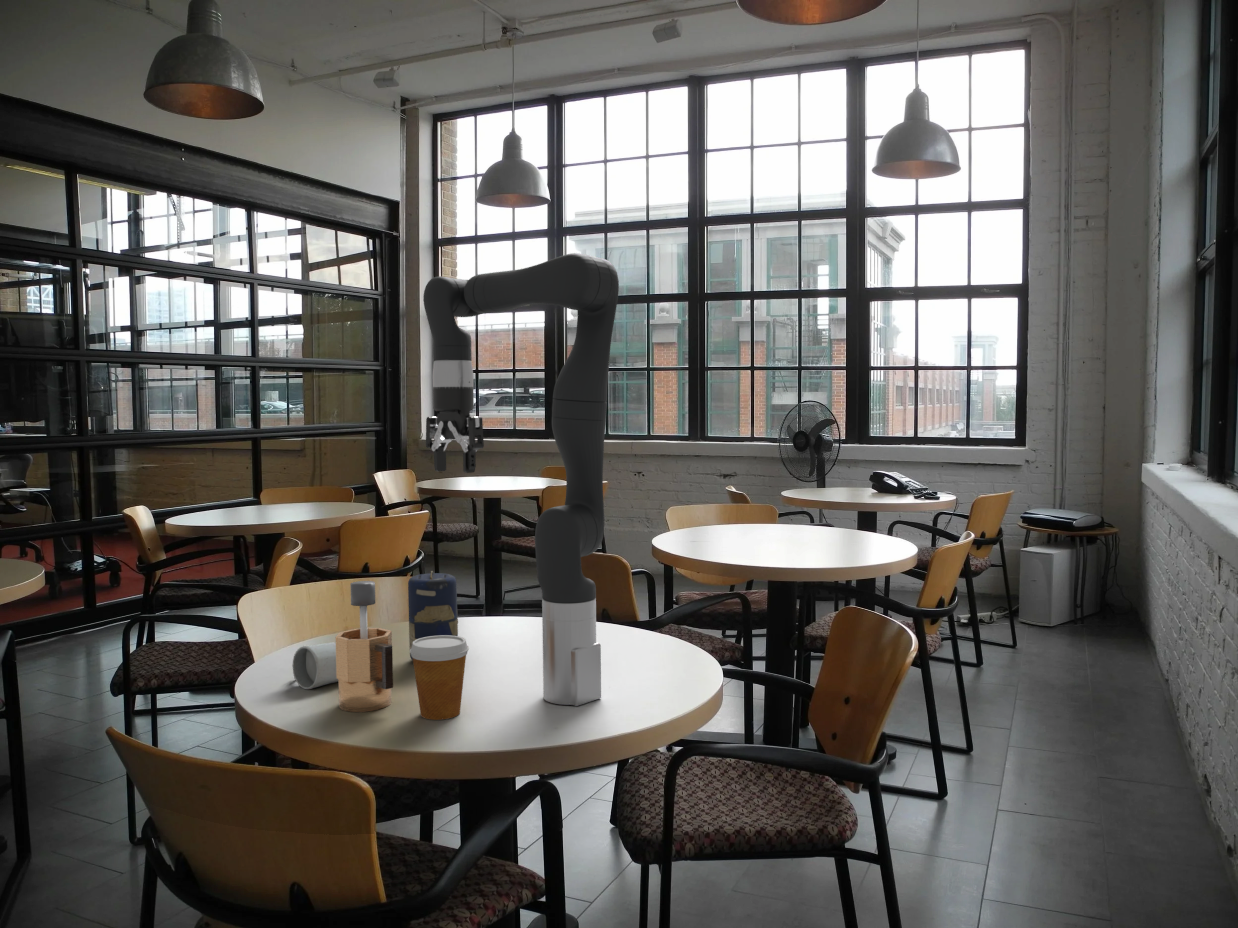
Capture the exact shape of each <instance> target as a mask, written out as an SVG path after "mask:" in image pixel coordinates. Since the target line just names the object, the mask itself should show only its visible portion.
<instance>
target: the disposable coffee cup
mask: <svg viewBox="0 0 1238 928" xmlns="http://www.w3.org/2000/svg"><path fill="white" fill-rule="evenodd" d="M467 644H468V643H467V639H466V638H465V637H462V636H459V635H458V636H451V635H440V636H429V637H423V638H419V639H417V640H415V641H413V644H412V648H411V649H410V648H409V655H410V654H411V656H412V658H413V660H412V663H413V664H412V665H413V669H414V677H415V678H414V679H415V683H416V685H415V686H416V690H417V691H416V692H417V697H418V705H419V712H420V716H421V717H422V718H423V719H426V720H433V721H437V720H438V721H440V720H443V721H444V720H449V719H452V718H455V717H457V716H459V715H460V713H461V708H462V707H461V705H462V695H463V688H464V679H465V668H466V660H467V655H468V652H469V649H470V647H469V645H467Z"/></svg>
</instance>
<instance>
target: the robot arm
mask: <svg viewBox="0 0 1238 928" xmlns="http://www.w3.org/2000/svg"><path fill="white" fill-rule="evenodd" d="M619 281H620V280H619V275H618V272H617V269H616V268H615V266H614V265H613V264H612V262H611V261H609V260H608V259H605V258H602V257H598V256H594V255H590V254H589V255H588V254H584V253H580V252H579V253H577V252H572V253H571V252H570V253H568V254H564V255H563V254H562V255H561V256H557V257H555V258H552V259H549V260H547V261H544V262H542V263H538V264H535V265H531V266H528V267H524V268H520V269H513V270H511V269H510V270H502V271H496V272H495V271H494V272H487V273H480V274H476V275H474V276H472V277H470V278H469V279H461V278H453V277H448V276H440V275H439V276H435V277H432V278H430V280H429V281H428V282H427V283H426V285H425V288H424V291H423V297H422V298H423V307H424V311H425V314H426V319H427V323H428V325H429V330H430V332H431V337H432V340H433V345H432V346H433V366H432V409H433V411H435V412H437V416H427V417H426V418H425V419H426V420H425V422H426V424H425V447H426V449H431V451H432V452H433V466H434V471H435V472H445V471H446V470H447V451H446V449H447V447H448V445H449V443H451V442H452V441H454V440H455V441H456V442H457V443H458V444H459V445H460V446H461V449H462V450H463V453H462V468H463V469H462V471H463V473H466V474H471V473H474V472H475V471H476V468H477V466H476V465H477V462H476V460H477V459H476V458H477V457H476V455H477V454H476V453H477V451H478V450H480V449H481V450H482V449H484V447H485V444H484V442H485V441H484V427H483V426H484V424H483V417H482V416H480V415H479V416H476V415H475V416H474V415H473V416H471V413H470V412H471V411H474V408H475V405H474V404H475V403H474V402H475V401H474V398H475V395H474V393H475V392H474V369H473V362H472V359H473V358H472V337H471V334H470V333H469V331H467V330H465V329H463V328H462V327H459V326H458V324H457V322H456V318H455V317H457V318H471V317H475V316H479V315H480V316H481V315H482V314H490V313H501V312H503V313H504V312H510V311H513V310H516V309H519V308H521V307H524V306H526V305H532V304H533V305H534V304H543V305H552V306H560V307H564V308H565V309H566V308H567V309H569V310H572V311H577V316H576V317H577V319H576V320H577V321H576V333H575V338H574V342H573V346H572V349H571V351H570V353H569V355H568V357H567V359H566V360H565V362H564V365H562V368H561V370H560V372H559V374H558V377H557V379H556V382H555V384H554V387H553V393H552V405H551V429H552V433H553V438H554V440H555V444H556V446H557V449H558V452H559V454H560V457H561V459H562V462H563V465H564V469H565V475H566V477H565V478H566V485H565V486H566V488H565V500H564V501H565V502H564V505H558V506H554V507H550V508H548V509H545V510H543V512H542V513H541V514H540V516H539V517H538V519H537V521H536V526H535V530H534V531H535V532H534V547H535V549H534V550H535V563H536V564H535V565H536V576H537V582H538V585H539V586H540V590H541V596H542V597H541V598H542V599H541V601H542V602H541V607H542V609H541V610H542V611H541V612H542V619H541V620H542V624H541V625H542V690H543V691H542V695H543V700H544V701H546V702H548V703H550V704H556V705H565V706H566V705H568V706H569V705H571V706H576V707H577V706H578V707H579V706H581V705H583V704H584V705H585V704H587V703H590V702H593V701H595V700H599V699H602V663H601V662H602V656H601V655H602V650H601V649H602V646H601V643H600V642H597V601H596V600H597V588H596V587H597V586H596V583H595V581H594V580H592V579H590V578H588V577H586V576H585V575H584V573H583V570H582V557H587V556H590V555H592V554H594V553H595V552H596V551H597V550H598V549H599V548H600V546H601V545H602V542H603V538H604V534H605V509H604V508H605V506H604V485H603V483H604V478H603V477H604V476H603V475H604V454H605V453H604V452H605V432H606V423H607V409H608V408H607V407H608V384H609V383H608V381H609V370H610V360H611V359H610V357H611V346H612V345H611V344H612V337H613V331H614V325H615V318H616V312H617V307H618V306H617V305H618V299H619V290H620V286H619V283H620V282H619ZM432 438H433V439H432ZM476 439H477V441H476ZM432 440H433V441H432Z"/></svg>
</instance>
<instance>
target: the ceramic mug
mask: <svg viewBox="0 0 1238 928" xmlns="http://www.w3.org/2000/svg"><path fill="white" fill-rule="evenodd" d="M291 666H292V674H293V678H294V680H295V682H296V683H297V684H298V686H299V687H301V688H302V689H303V690H311V689H316V688H319V687H322V686H327V685H329V684H334V683H337V682H338V679H337V676H336V641H335V642H325V643H317V644H312V645H311V644H310V645H303V646H300V647H299V648H298V649H297V650H296V651H295V653H294V655H293V659H292V665H291Z"/></svg>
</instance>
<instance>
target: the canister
mask: <svg viewBox="0 0 1238 928" xmlns="http://www.w3.org/2000/svg"><path fill="white" fill-rule="evenodd" d="M457 588H458V587H457V578H456V576H454V575H452V574H449V573H441V572H440V573H439V572H438V573H437V572H436V573H435V572H434V571H433V570H430V573H421V574H416V575H414V576H411V577H410V578H409V580H408V582H407V593H408V594H407V595H408V599H407V601H408V603H407V604H408V639H409V640H408V641H409V645H408V646H409V650H410V649H411V648H412V644H413V641H415V640H417V639H419V638H423V637H429V636H440V635H451V636H459V629H458V628H459V627H458V626H459V625H458V624H459V618H458V596H457V595H458V589H457ZM409 658H410V659H411V660H412V661H413V658H412V656H411V654H410V653H409Z"/></svg>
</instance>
